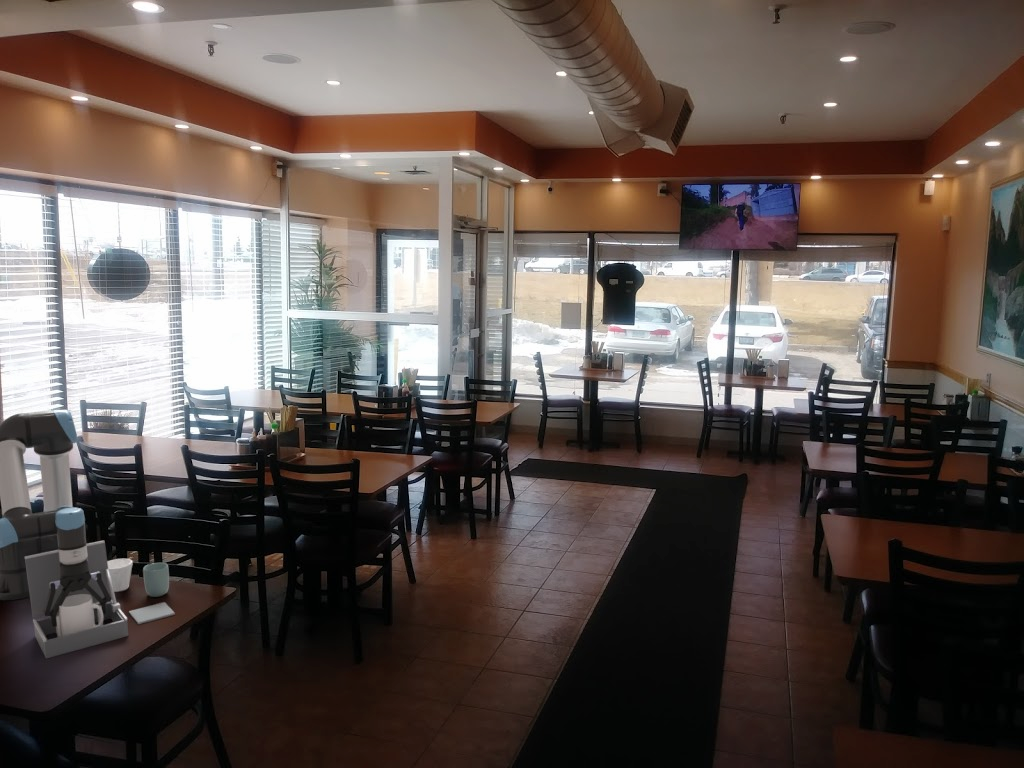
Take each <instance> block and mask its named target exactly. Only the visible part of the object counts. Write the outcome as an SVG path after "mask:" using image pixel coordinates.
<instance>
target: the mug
mask: <svg viewBox="0 0 1024 768" xmlns="http://www.w3.org/2000/svg"><path fill="white" fill-rule="evenodd" d="M94 608H97V609H98V610H99V611H100V614H101V621H100V623H99V624H96V622H95V620H94V610H93V609H94ZM58 615H59V619H60V629H61V636H64V635H68V634H72V633H76V632H79V631H83V630H87V629H91V628H95V627H98V626H101V625H102V623H103V624H104V620H103V618H104V617H103V612H102V609H101V607H99V606H98V605H97V604H95V603H93V599H92V596H91V595H88V594H77V595H72V596H68V597H66V598H65V600H64V602H63V604H62V606H59V611H58Z"/></svg>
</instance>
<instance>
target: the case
mask: <svg viewBox="0 0 1024 768" xmlns="http://www.w3.org/2000/svg"><path fill="white" fill-rule="evenodd" d="M105 571H106V576H107V580H108V584H109V589H110V593H111V597H112V599H111V601H108V602H106V605H105V609H106V613H105V614H103V617H104V618H103V621H106V620H110V619H111V620H112V622H110V623H107V624H103V625H102V626H98V627H95V628H91V629H87V630H83V631H79V632H76V633H72V634H68V635H64V636H60V637H58V636H56V637H54V638H49V639H48V638H47V636H48V635H52V634H57V633H56V626H55V627H53V626H52V624H51V616H47V617H46V618H45V617H44V618H41V619H37V620H36V618H33V619H32V622H33V627H34V628H33V629H34V637H35V639H36V641H37V643H38V645H39V647H40V649H41V651H42V653H43V655H44V657H45V659H49V658H53V657H57V656H61V655H64V654H67V653H72V652H74V651H78V650H82V649H86V648H89V647H90V648H91V647H93V646H96V645H100V644H103V643H107V642H111V641H114V640H118V639H121V638H122V639H123V638H125V637H129V628H128V627H129V626H128V617H127V616H126V615H125V613H124V612H123V611H122V610H121V604H120V603H119V602H117V599H116V594H115V592H114V590H113V586H112V581H111V577H110V573H109V569H106V570H105ZM93 610H94V620H95V623H97V622H98V613H97V608H94V609H93Z"/></svg>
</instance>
